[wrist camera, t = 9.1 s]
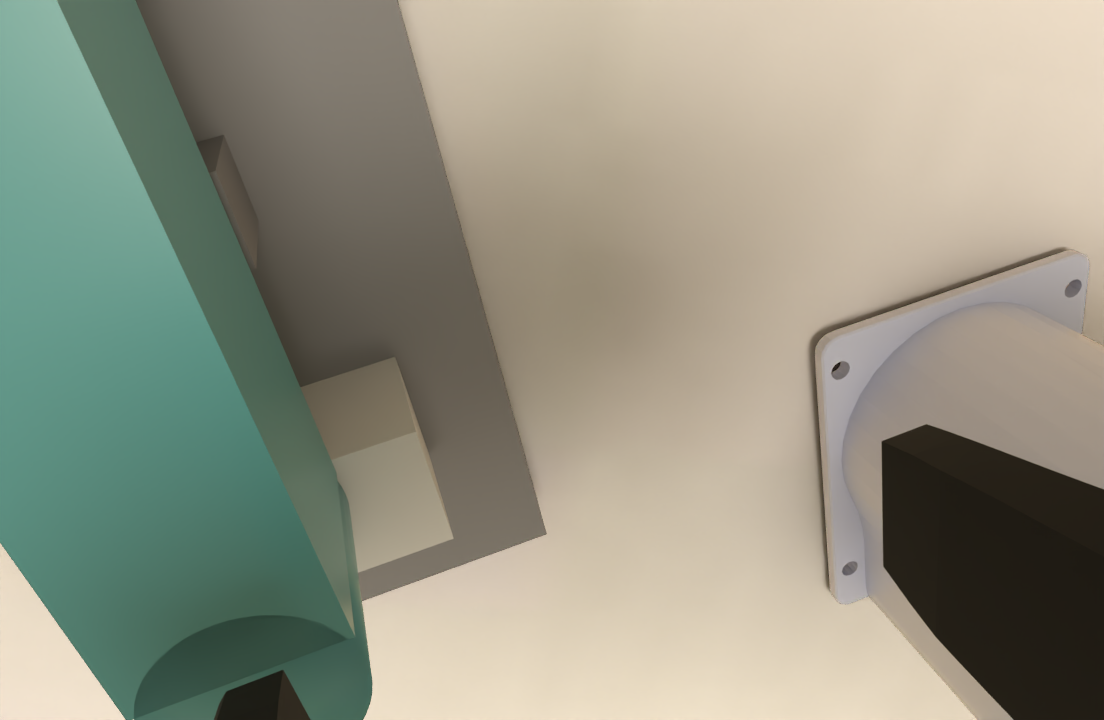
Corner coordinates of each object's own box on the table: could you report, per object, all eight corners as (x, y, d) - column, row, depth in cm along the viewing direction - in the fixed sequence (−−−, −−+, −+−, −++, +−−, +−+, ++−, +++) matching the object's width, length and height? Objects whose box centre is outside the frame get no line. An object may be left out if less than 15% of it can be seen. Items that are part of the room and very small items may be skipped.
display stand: (530, 498, 22) (585, 621, 18) (133, 639, 21) (101, 805, 17) (219, -598, 12) (194, -842, 8) (-590, -475, 11) (-1079, -699, 7)
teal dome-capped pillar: (372, 556, 16) (400, 731, 12) (210, 614, 15) (192, 812, 12) (2, -313, 9) (-152, -444, 6) (-294, -254, 9) (-640, -360, 6)
